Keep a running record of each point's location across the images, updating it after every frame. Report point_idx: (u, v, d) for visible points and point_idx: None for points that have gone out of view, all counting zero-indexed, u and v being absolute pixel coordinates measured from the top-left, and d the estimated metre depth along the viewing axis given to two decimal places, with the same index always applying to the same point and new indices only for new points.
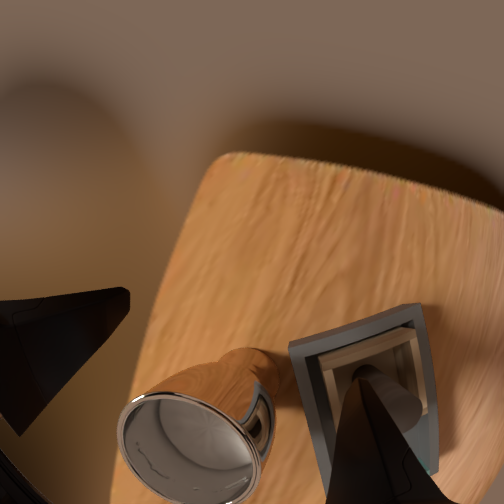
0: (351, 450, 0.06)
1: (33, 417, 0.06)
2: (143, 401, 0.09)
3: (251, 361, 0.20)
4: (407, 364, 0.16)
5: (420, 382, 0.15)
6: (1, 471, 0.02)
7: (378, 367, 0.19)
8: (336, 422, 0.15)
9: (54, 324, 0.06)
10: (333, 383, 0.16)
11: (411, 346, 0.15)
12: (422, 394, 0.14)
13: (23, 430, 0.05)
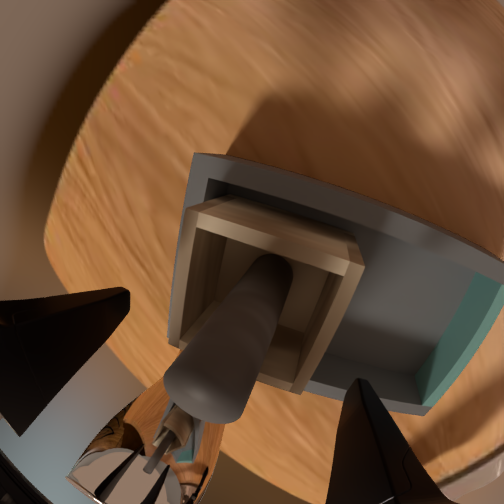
0: (351, 450, 0.06)
1: (33, 417, 0.06)
2: None
3: None
4: None
5: (285, 248, 0.10)
6: (1, 471, 0.02)
7: (269, 250, 0.14)
8: (256, 379, 0.12)
9: (54, 324, 0.06)
10: None
11: (208, 229, 0.10)
12: (313, 258, 0.09)
13: (23, 430, 0.05)
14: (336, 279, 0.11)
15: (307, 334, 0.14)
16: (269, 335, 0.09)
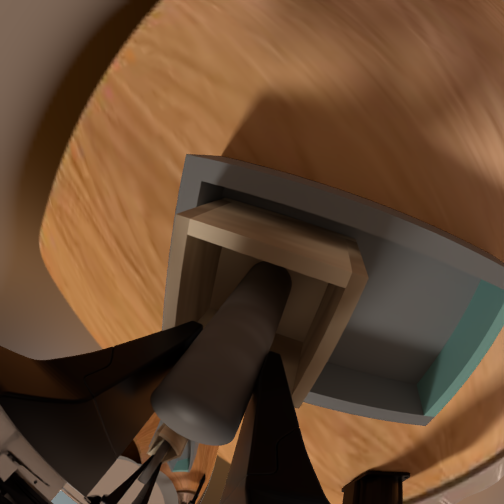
0: (246, 423, 0.06)
1: (100, 474, 0.05)
2: None
3: None
4: None
5: (282, 258, 0.09)
6: (1, 471, 0.02)
7: None
8: None
9: (133, 380, 0.06)
10: None
11: (200, 236, 0.10)
12: (313, 269, 0.09)
13: (90, 490, 0.04)
14: (337, 290, 0.10)
15: (306, 345, 0.13)
16: (264, 351, 0.08)
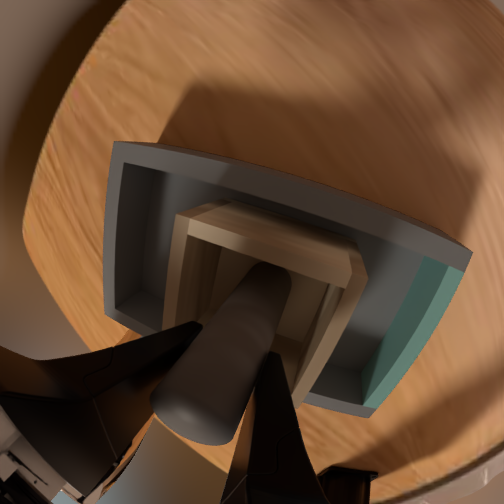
0: (246, 423, 0.06)
1: (100, 474, 0.05)
2: None
3: (116, 344, 0.17)
4: None
5: (282, 259, 0.09)
6: (1, 471, 0.02)
7: None
8: None
9: (133, 379, 0.06)
10: None
11: (200, 236, 0.10)
12: (313, 269, 0.09)
13: (90, 490, 0.04)
14: (337, 290, 0.10)
15: (305, 345, 0.13)
16: (264, 351, 0.08)
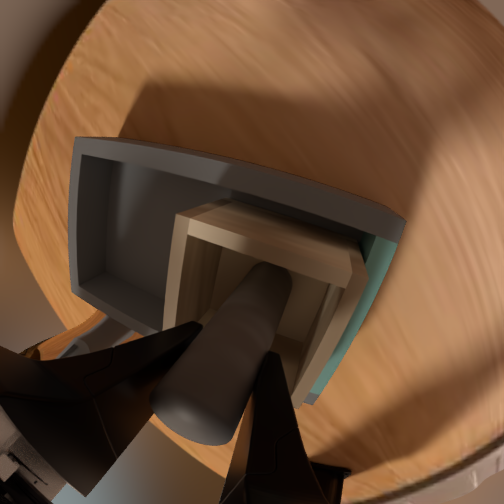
0: (245, 423, 0.06)
1: (100, 474, 0.05)
2: None
3: (83, 322, 0.18)
4: None
5: (282, 258, 0.09)
6: (1, 471, 0.02)
7: None
8: None
9: (133, 379, 0.06)
10: None
11: (200, 236, 0.10)
12: (313, 269, 0.09)
13: (90, 490, 0.04)
14: (337, 290, 0.10)
15: (306, 345, 0.13)
16: (264, 351, 0.08)
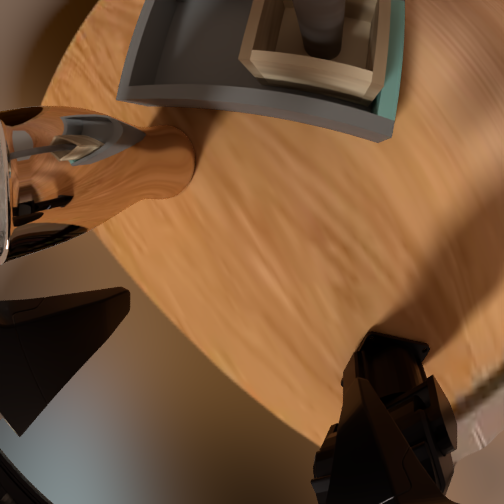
0: (351, 450, 0.06)
1: (33, 417, 0.06)
2: None
3: None
4: None
5: None
6: (1, 471, 0.02)
7: None
8: (335, 71, 0.10)
9: (55, 324, 0.06)
10: (272, 53, 0.10)
11: None
12: None
13: (23, 430, 0.05)
14: (376, 9, 0.09)
15: None
16: None
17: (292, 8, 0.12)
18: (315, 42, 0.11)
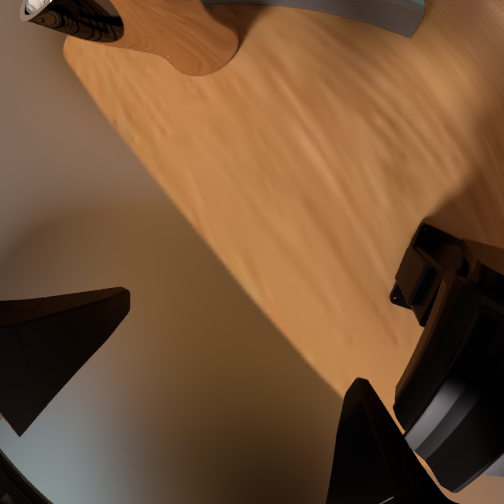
0: (351, 450, 0.06)
1: (33, 417, 0.06)
2: None
3: None
4: None
5: None
6: (1, 471, 0.02)
7: None
8: None
9: (54, 324, 0.06)
10: None
11: None
12: None
13: (23, 430, 0.05)
14: None
15: None
16: None
17: None
18: None
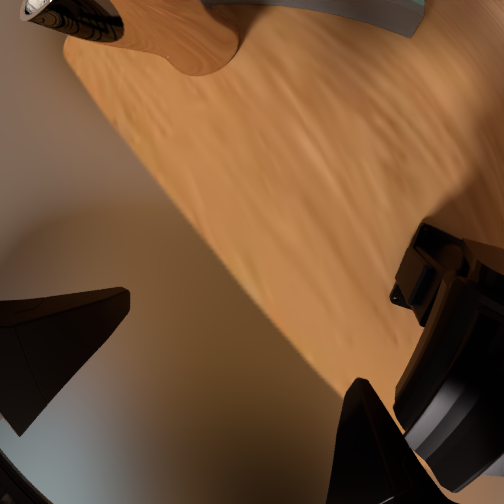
0: (351, 450, 0.06)
1: (33, 417, 0.06)
2: None
3: None
4: None
5: None
6: (1, 471, 0.02)
7: None
8: None
9: (54, 324, 0.06)
10: None
11: None
12: None
13: (23, 430, 0.05)
14: None
15: None
16: None
17: None
18: None
